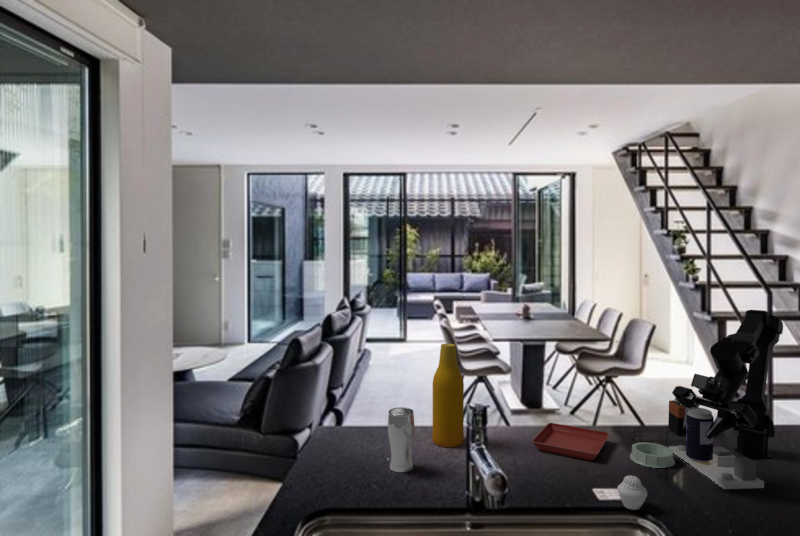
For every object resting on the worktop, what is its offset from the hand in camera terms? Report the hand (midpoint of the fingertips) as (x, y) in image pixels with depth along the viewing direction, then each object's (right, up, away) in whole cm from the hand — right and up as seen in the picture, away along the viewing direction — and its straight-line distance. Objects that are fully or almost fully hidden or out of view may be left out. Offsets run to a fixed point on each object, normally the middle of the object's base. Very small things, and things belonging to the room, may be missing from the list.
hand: (695, 433), depth 127 cm
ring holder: (-3, -12, +16) cm, 21 cm away
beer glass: (-71, -13, +12) cm, 73 cm away
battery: (+16, -12, +38) cm, 43 cm away
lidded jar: (-19, -14, -9) cm, 25 cm away
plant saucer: (-21, -13, +26) cm, 36 cm away
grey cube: (+13, -11, +11) cm, 20 cm away
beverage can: (+1, -7, +1) cm, 7 cm away
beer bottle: (-57, -12, +30) cm, 65 cm away
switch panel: (+11, -13, +11) cm, 20 cm away
